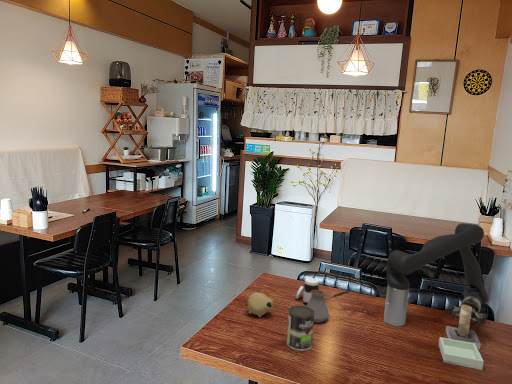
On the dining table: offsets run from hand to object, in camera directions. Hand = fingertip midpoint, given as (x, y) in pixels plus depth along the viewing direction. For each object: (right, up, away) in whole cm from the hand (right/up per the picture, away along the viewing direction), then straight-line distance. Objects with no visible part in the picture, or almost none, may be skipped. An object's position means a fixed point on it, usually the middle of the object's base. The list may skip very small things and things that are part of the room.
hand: (464, 319), depth 161 cm
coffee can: (-71, -7, -8) cm, 72 cm away
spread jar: (-63, -2, +32) cm, 71 cm away
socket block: (0, -9, +1) cm, 9 cm away
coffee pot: (-56, -5, +14) cm, 58 cm away
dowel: (0, -9, +1) cm, 9 cm away
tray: (-9, -11, -12) cm, 18 cm away
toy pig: (-87, -3, +16) cm, 88 cm away
